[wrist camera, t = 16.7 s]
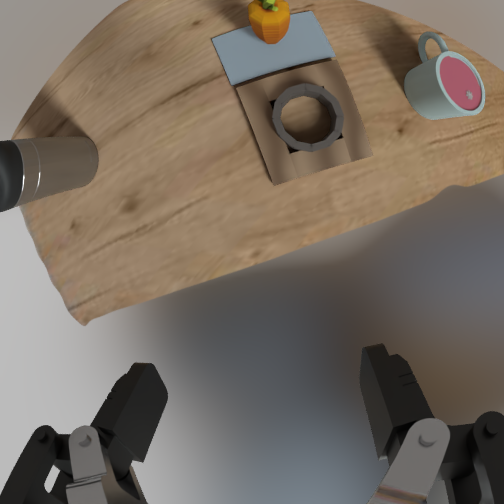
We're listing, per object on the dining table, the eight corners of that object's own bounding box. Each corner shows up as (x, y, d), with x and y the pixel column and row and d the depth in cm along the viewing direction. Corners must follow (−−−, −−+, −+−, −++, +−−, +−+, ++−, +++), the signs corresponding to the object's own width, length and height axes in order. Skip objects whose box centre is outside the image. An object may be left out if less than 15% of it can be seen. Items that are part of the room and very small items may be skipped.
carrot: (260, 25, 29) (250, -29, 15) (293, 34, 29) (298, -20, 15) (249, 51, 31) (233, 1, 17) (282, 60, 31) (284, 12, 17)
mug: (454, 118, 31) (491, 115, 21) (412, 121, 32) (447, 115, 23) (431, 45, 26) (461, 27, 17) (387, 42, 28) (413, 19, 19)
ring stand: (274, 184, 38) (273, 187, 35) (237, 90, 34) (233, 84, 30) (369, 155, 35) (378, 155, 32) (334, 62, 31) (339, 55, 27)
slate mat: (231, 86, 33) (231, 85, 33) (212, 39, 31) (211, 38, 30) (335, 56, 30) (335, 55, 30) (311, 11, 28) (311, 10, 27)
